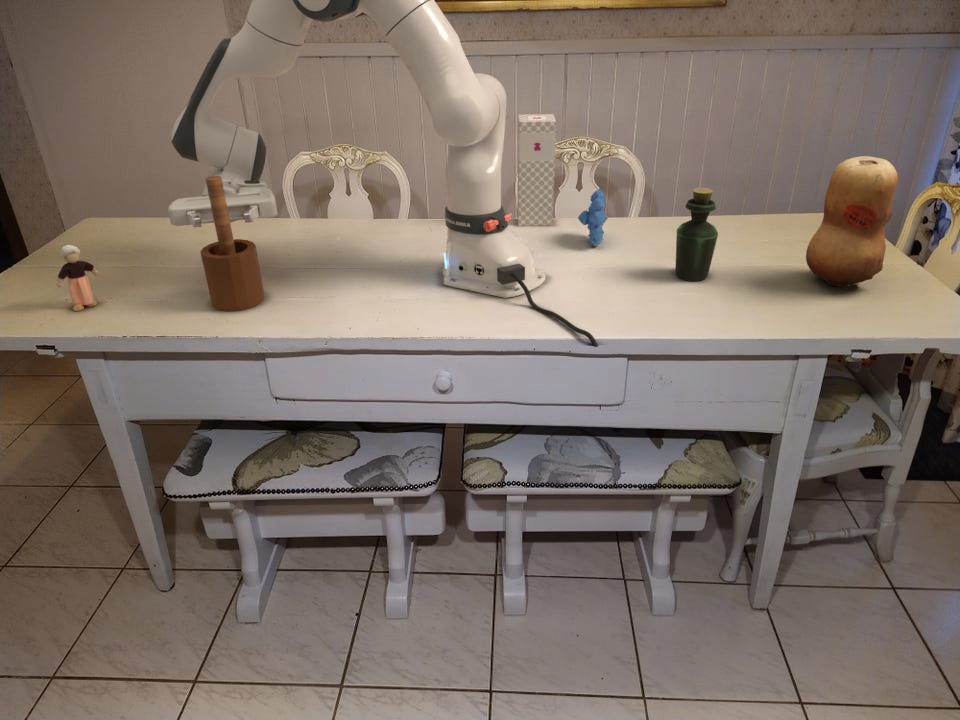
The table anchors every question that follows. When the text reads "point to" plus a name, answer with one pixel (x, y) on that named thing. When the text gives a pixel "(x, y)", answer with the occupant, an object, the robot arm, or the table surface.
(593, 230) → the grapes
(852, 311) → the table surface
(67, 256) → the grandmother figurine
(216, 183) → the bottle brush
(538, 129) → the box
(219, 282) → the cylindrical container
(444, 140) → the robot arm
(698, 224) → the potion bottle
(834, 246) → the butternut squash
